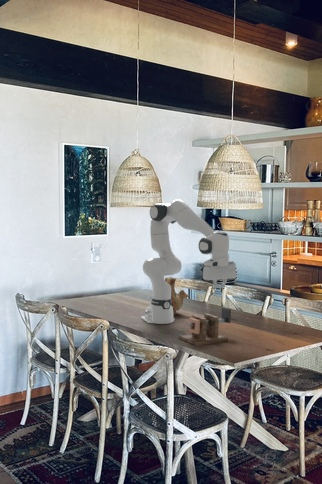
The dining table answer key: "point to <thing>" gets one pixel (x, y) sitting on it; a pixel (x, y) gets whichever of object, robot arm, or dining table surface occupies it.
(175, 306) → the tan plush toy
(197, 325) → the spacer
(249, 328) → the dining table surface
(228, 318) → the shaft
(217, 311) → the dining table surface
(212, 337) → the stand
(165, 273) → the robot arm
